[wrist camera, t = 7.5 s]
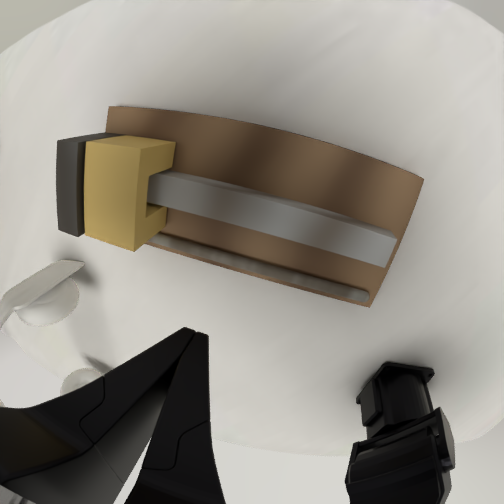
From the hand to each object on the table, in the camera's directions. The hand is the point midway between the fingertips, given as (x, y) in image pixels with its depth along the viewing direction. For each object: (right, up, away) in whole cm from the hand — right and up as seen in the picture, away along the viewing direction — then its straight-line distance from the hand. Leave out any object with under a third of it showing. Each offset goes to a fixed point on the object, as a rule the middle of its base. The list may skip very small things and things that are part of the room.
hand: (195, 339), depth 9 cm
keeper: (-6, +8, +9) cm, 13 cm away
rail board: (+1, +6, +10) cm, 12 cm away
